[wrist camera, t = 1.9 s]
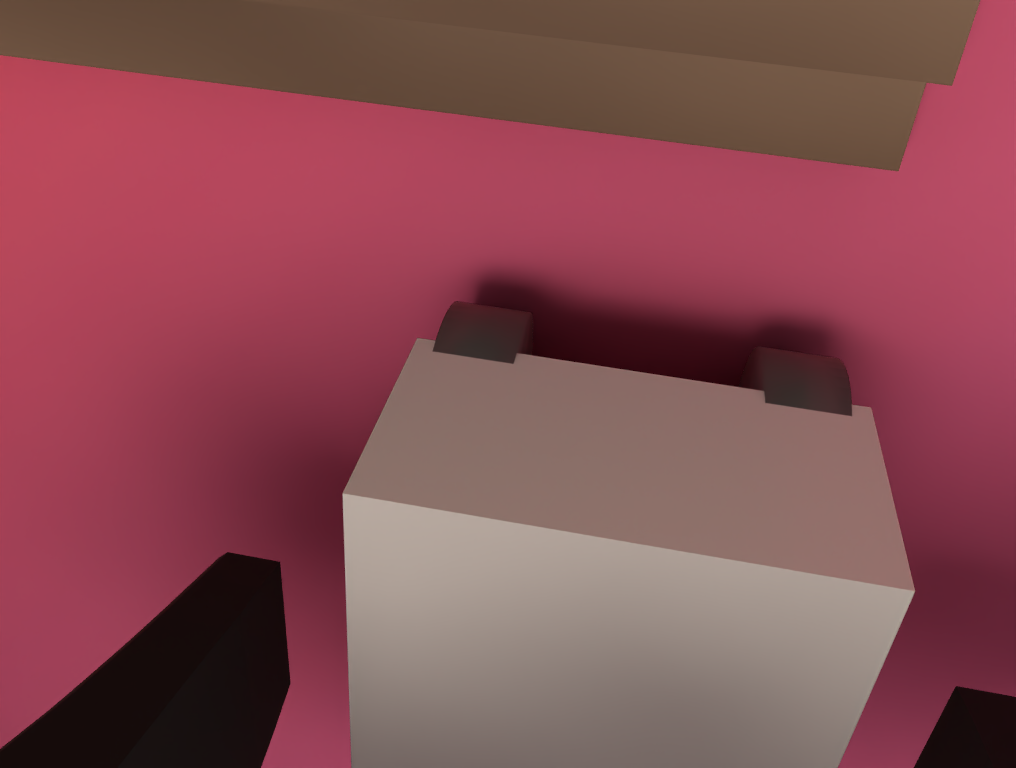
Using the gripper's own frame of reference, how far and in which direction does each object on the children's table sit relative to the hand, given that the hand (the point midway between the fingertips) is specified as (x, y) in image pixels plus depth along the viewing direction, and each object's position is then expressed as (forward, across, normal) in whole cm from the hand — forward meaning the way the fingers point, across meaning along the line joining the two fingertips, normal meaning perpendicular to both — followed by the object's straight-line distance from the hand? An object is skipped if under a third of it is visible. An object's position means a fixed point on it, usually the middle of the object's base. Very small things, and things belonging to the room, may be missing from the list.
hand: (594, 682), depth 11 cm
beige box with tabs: (+2, 0, 0) cm, 3 cm away
